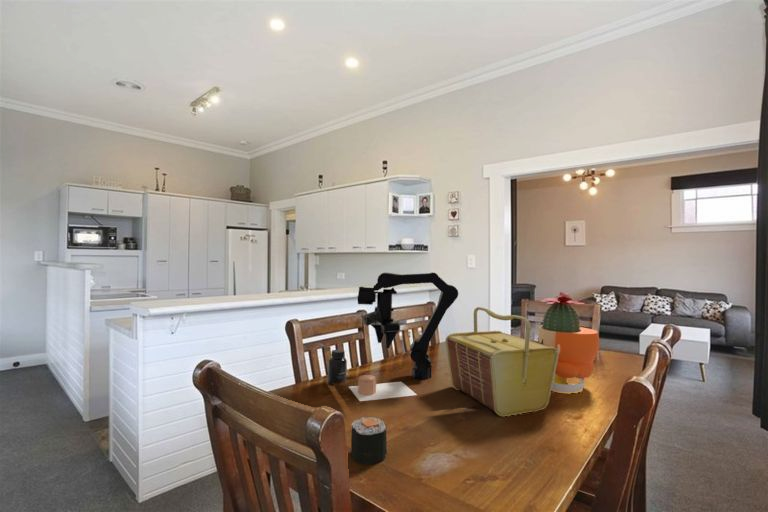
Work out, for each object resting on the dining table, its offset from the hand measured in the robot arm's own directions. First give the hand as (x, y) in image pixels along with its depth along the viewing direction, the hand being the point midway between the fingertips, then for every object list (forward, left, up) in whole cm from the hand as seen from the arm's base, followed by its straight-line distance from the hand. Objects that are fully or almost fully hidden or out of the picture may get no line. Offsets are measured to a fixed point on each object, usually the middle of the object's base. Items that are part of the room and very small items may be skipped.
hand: (383, 345), depth 149 cm
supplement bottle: (+18, 0, -13) cm, 22 cm away
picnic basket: (-30, +31, -13) cm, 45 cm away
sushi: (+22, +52, -13) cm, 58 cm away
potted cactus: (-65, +26, -13) cm, 71 cm away
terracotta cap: (+11, +16, -12) cm, 23 cm away
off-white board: (+6, +16, -13) cm, 21 cm away
